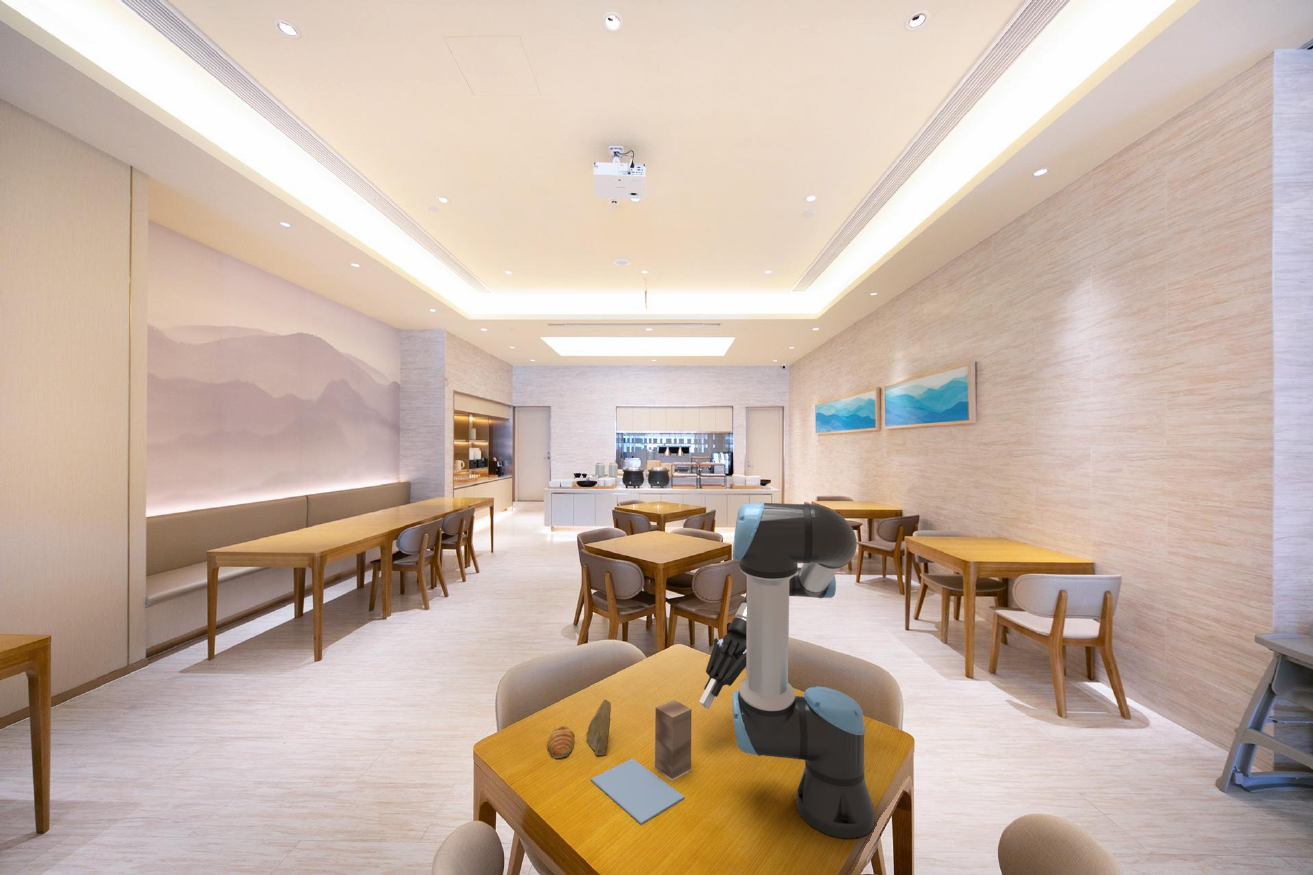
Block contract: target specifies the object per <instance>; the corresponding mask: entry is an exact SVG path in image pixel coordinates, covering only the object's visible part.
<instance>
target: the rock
mask: <svg viewBox="0 0 1313 875" xmlns="http://www.w3.org/2000/svg"><path fill="white" fill-rule="evenodd" d="M611 711H612V704H611V702H610V701H609V700H607V699H603V701H602V703H601V704H600V705H599V706H598V708H597V710H596V712H595V715H594V716H593V718H591V720H590V722H589V725H588V727H587V731H586V733H585V734H586V742H587V743H588V745H589V747H591V749H592V751H594V754H595V755H596V756H606V755H607V749H608V745H609V735H610V726H611Z"/></svg>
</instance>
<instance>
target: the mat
mask: <svg viewBox="0 0 1313 875" xmlns="http://www.w3.org/2000/svg"><path fill="white" fill-rule="evenodd" d="M590 781H591V782H592V783H593V784H594V785H595V786H596V787H598V788H599V790H601V791H602V792H603V793H604V794H606V795H607V796H608V797H609V798H610V799H611V800H612V801H613V802H614V803H616V804H617V805H618V806H619V807H620V808H621V809H622V810H624V811H625V812H626V813H627V814H628V815H629V816H630V817H632V818H633V819H634V820H635V821H636V822H637V823H638V824H640V826H642V825H643V824H645V823H647V822H649V821H650V820H652V819H653V818H655V817H657V816H658V815H660V814H661V813H663V812H665V811H667V810H668V809H670V808H672V807H673V806H675V805H676V804H678V803H680V802H681V801H683V800H685V796H684V795H683V794H681V793H680V792H679V791H678V790H676V789H675V788H673V787H672V786H671V785H669V784H668V783H667V782H666V781H664V780H663V779H661V778H660V777H658V775H656V774H655V773H653V772H652V771H651V770H649V769H648V768H646V767H645V766H643V764H641V763H640V762H638V761H637V760H635V759H634V758H630V759H628V760H626V761H625V762H622V763H620V764H618V765H616V766H614V767H612V768H610V769H608V770H605V771H603V772H602V773H600V774H597V775H596V776H594V777H591V778H590Z"/></svg>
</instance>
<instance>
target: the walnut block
mask: <svg viewBox="0 0 1313 875" xmlns="http://www.w3.org/2000/svg"><path fill="white" fill-rule="evenodd" d="M654 719H655V721H654V722H655V728H654V729H655V732H654V733H655V735H654V739H655V740H654V742H655V743H654V744H655V745H654V769H655V770H656V771H658V772H659V773H660V774H661V775H663V776H665V777H666V778H667V779H668V780H670V781H672V782H673V781H675V780H677V779H679V778H680V777H682V776H684V775H686V774H688V773H689V772H691V771H692V708H690V707H689V706H687V705H684V704H683V703H681V702H680V701H677V700H675V699H673V700H671V701H668V702H665V703H662V704H661V705H658V706H656V707H655V718H654Z"/></svg>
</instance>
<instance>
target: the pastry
mask: <svg viewBox="0 0 1313 875" xmlns="http://www.w3.org/2000/svg"><path fill="white" fill-rule="evenodd" d="M575 744H576V742H575V733H574V732H573V730H572V729H571V728H570V727H569V726H566V725H561V726H558V727H556V728H554V729H553V730H552V731H551V733H550V735H549V737H548V740H547V748H548V750H549V753H550V755H551V757H552V758H554V759H559V758H560V759H561V758H562V759H563V758H566V757H568V756H569V754H570V753H571V752H572V750H573V749H574V746H575Z"/></svg>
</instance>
